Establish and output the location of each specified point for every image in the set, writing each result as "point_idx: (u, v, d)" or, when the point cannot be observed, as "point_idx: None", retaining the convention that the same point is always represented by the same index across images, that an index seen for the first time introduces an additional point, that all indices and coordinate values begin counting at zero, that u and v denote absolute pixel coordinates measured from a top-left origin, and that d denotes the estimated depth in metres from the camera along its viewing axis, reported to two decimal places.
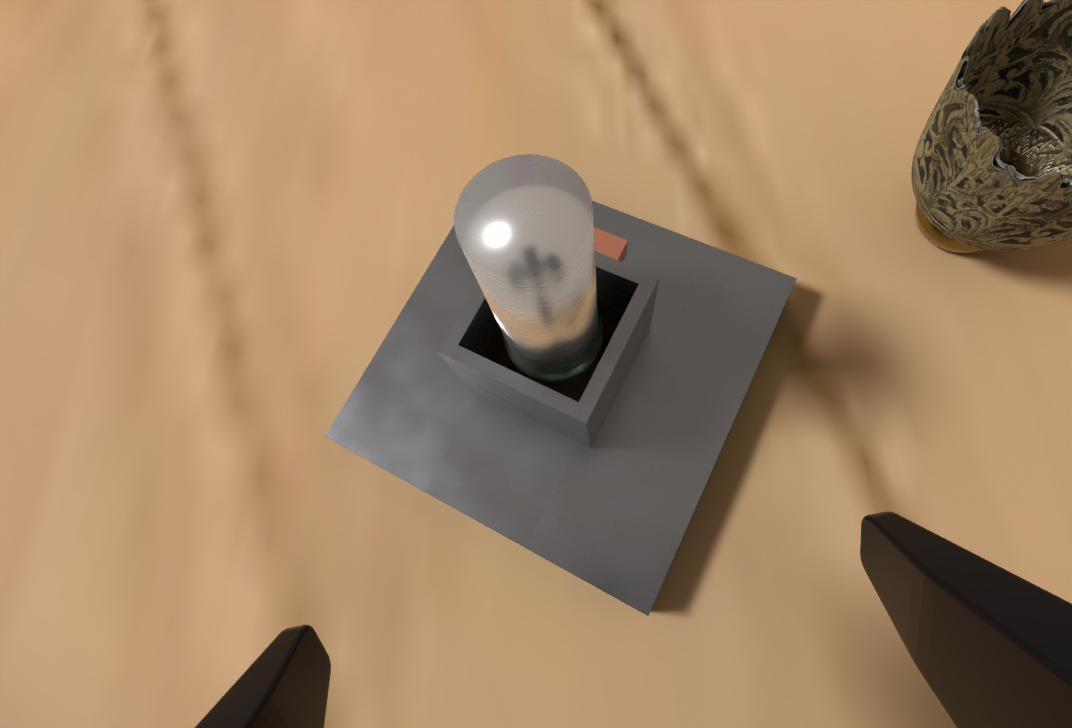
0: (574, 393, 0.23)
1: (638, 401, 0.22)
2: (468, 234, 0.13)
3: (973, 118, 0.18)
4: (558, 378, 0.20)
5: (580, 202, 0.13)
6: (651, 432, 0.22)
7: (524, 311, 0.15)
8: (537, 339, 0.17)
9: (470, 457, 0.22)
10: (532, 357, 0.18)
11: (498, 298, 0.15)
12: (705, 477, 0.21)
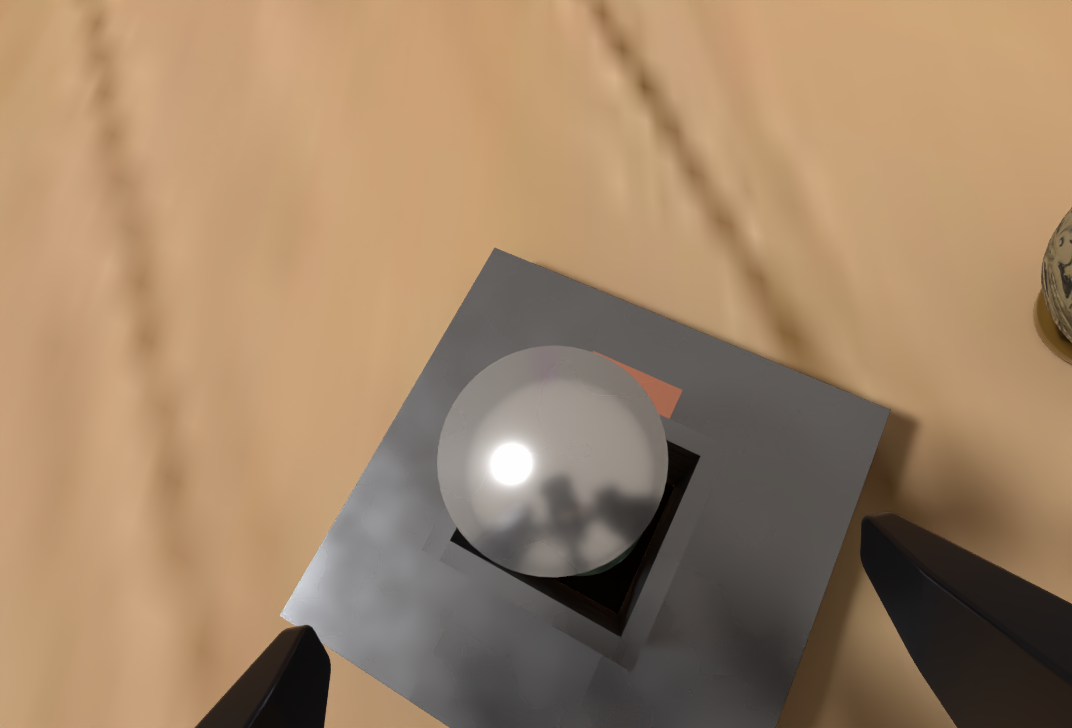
0: None
1: (689, 578, 0.17)
2: (460, 489, 0.08)
3: None
4: (587, 575, 0.15)
5: (646, 437, 0.08)
6: (707, 623, 0.17)
7: None
8: None
9: (468, 651, 0.17)
10: None
11: None
12: (783, 692, 0.16)
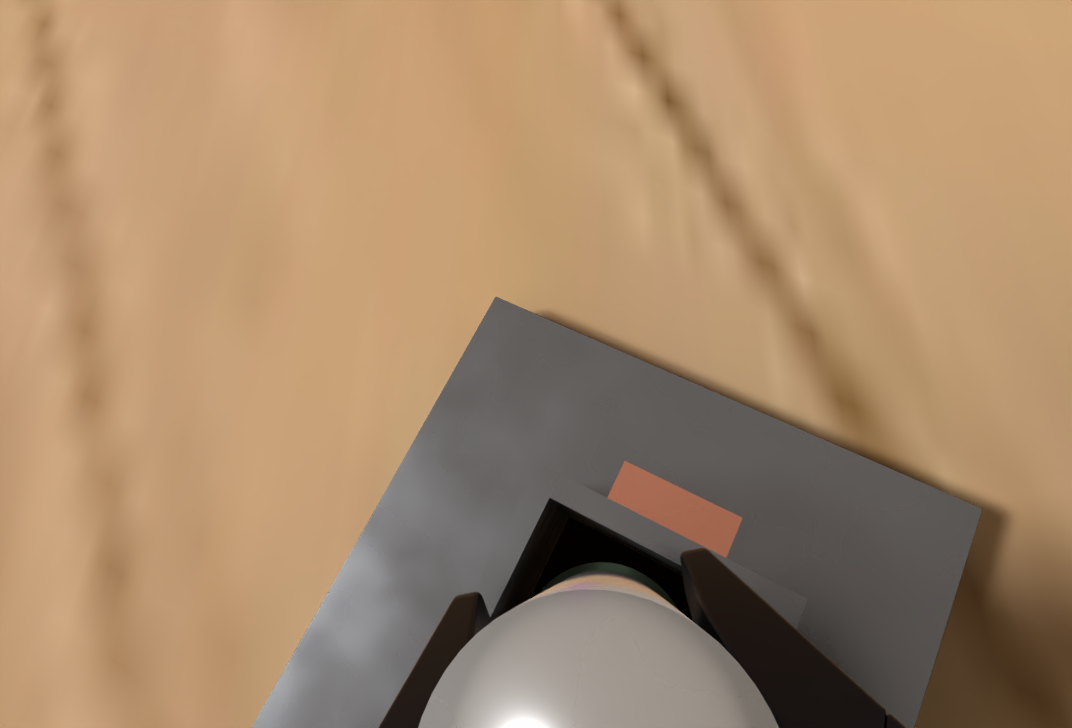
0: None
1: None
2: None
3: None
4: None
5: None
6: None
7: None
8: None
9: None
10: None
11: None
12: None
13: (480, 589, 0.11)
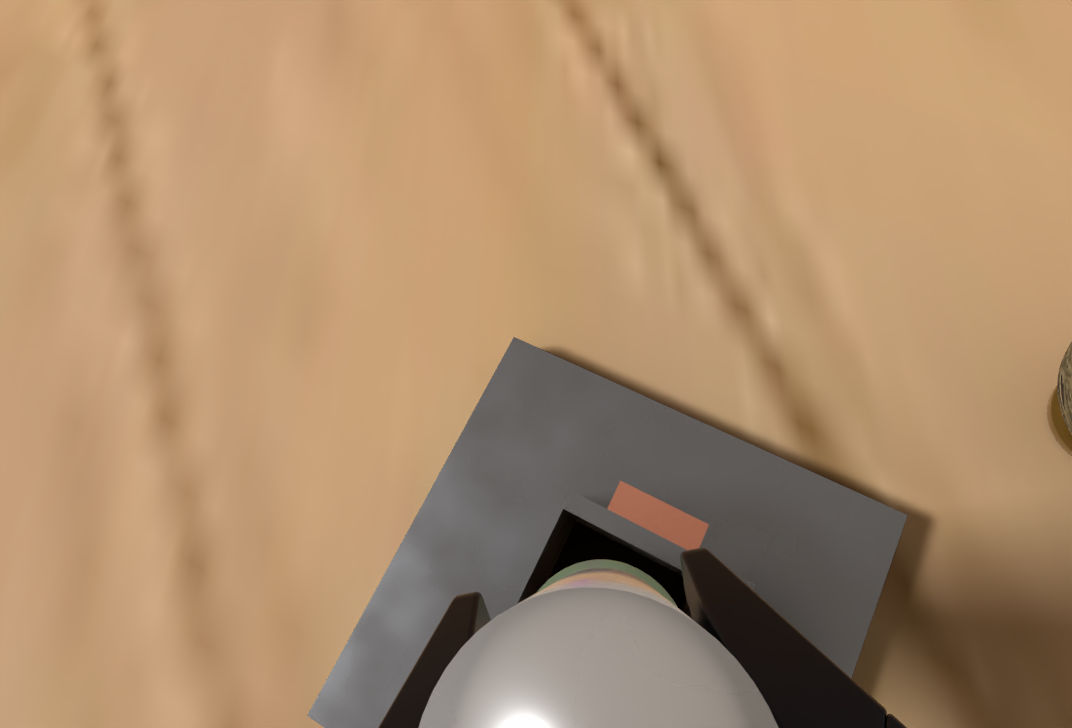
0: None
1: None
2: None
3: None
4: None
5: None
6: None
7: None
8: None
9: None
10: None
11: None
12: None
13: (511, 578, 0.15)
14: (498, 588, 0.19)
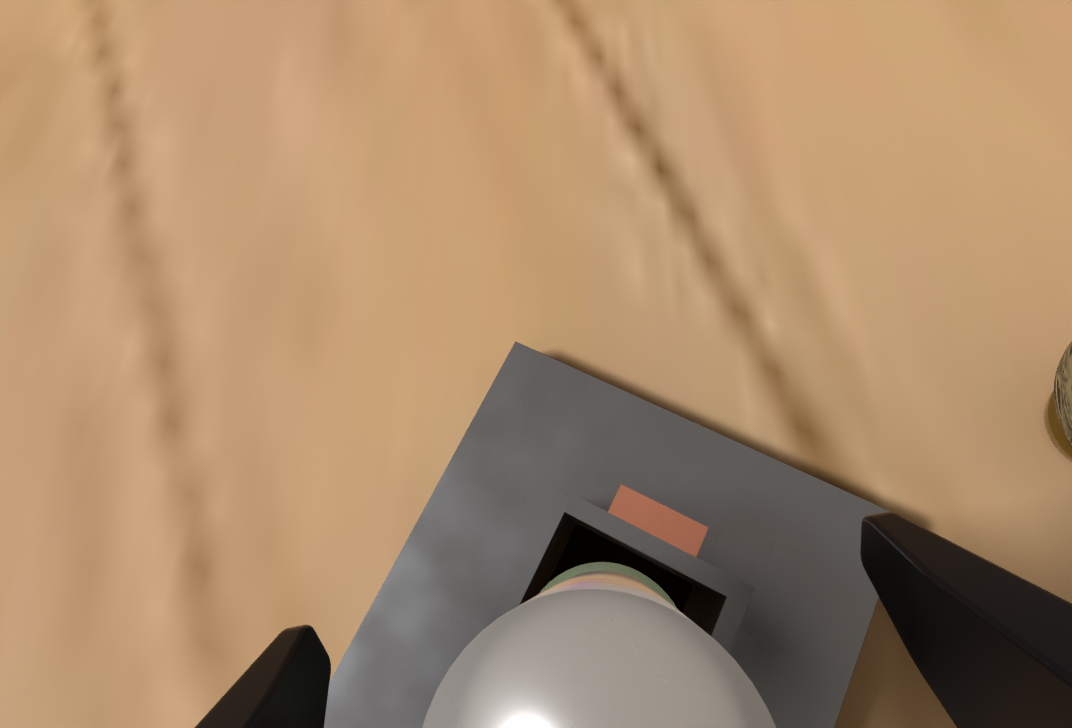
0: None
1: None
2: None
3: None
4: None
5: None
6: None
7: None
8: None
9: None
10: None
11: None
12: None
13: (513, 580, 0.15)
14: (500, 590, 0.19)
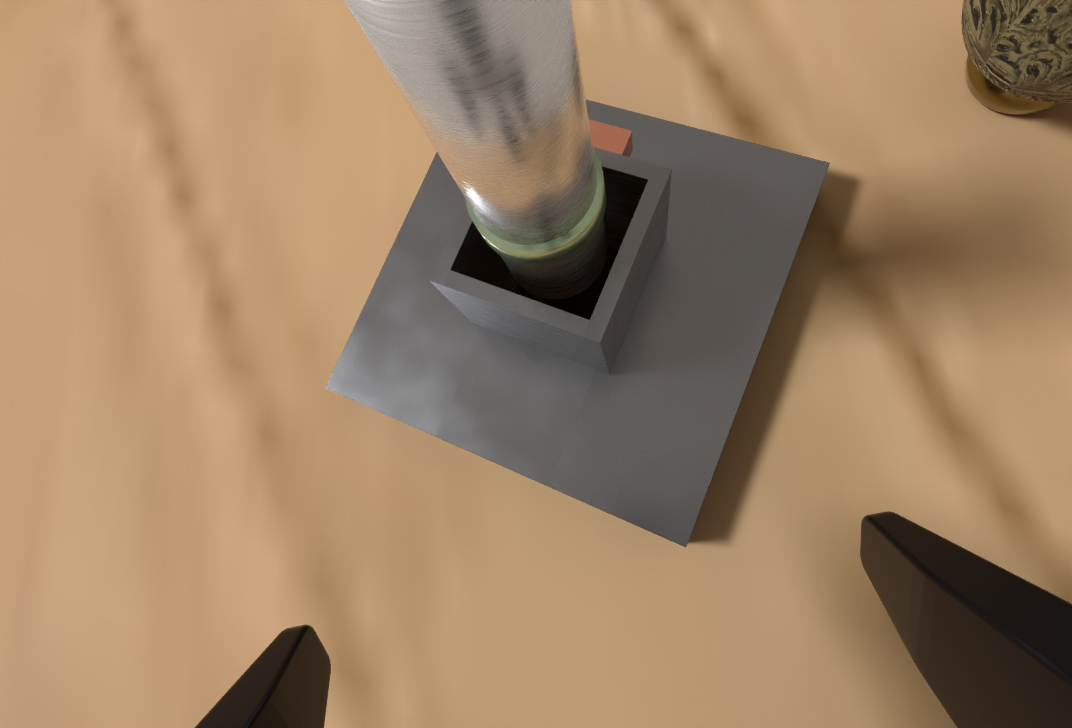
0: (574, 279, 0.17)
1: (658, 319, 0.20)
2: None
3: None
4: (545, 248, 0.14)
5: None
6: (675, 351, 0.20)
7: (458, 98, 0.09)
8: (497, 166, 0.11)
9: (481, 395, 0.21)
10: (500, 211, 0.13)
11: (411, 75, 0.09)
12: (739, 394, 0.19)
13: None
14: None
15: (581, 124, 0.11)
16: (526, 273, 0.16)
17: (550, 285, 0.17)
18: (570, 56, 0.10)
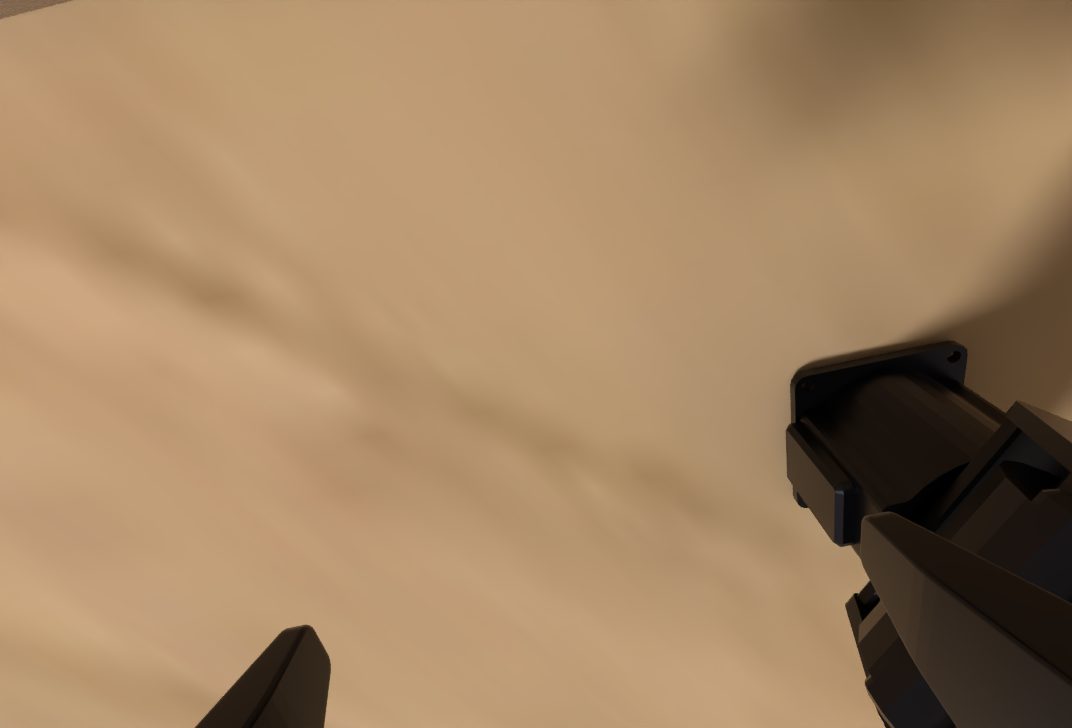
0: None
1: None
2: None
3: None
4: None
5: None
6: None
7: None
8: None
9: None
10: None
11: None
12: None
13: None
14: None
15: None
16: None
17: None
18: None
